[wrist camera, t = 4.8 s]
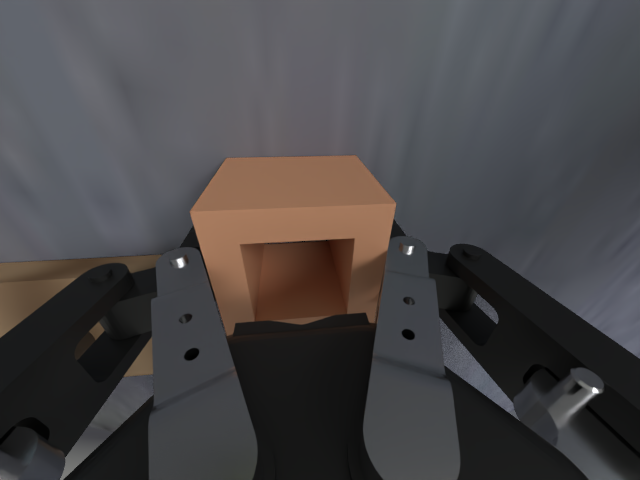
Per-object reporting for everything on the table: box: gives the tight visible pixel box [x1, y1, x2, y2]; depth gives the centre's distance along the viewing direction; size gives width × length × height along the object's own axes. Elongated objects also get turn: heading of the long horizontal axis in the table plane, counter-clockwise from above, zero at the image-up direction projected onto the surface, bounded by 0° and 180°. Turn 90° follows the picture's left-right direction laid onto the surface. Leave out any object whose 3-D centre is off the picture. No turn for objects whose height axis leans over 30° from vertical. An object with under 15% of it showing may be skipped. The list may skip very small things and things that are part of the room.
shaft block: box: [0, 255, 162, 377], centre depth 12 cm, size 12×8×8 cm, turn 89°
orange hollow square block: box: [190, 155, 396, 336], centre depth 11 cm, size 6×6×5 cm
